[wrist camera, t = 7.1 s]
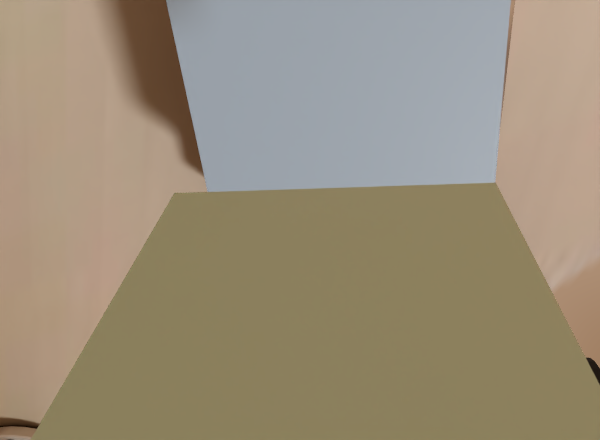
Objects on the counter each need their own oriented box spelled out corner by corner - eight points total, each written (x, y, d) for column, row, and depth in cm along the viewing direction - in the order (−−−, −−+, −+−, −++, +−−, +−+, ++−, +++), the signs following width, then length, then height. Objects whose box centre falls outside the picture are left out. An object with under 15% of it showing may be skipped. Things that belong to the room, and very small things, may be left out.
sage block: (467, 407, 13) (547, 749, 8) (221, 404, 13) (143, 719, 8) (495, 182, 10) (659, 500, 5) (174, 193, 10) (4, 483, 5)
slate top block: (471, 198, 27) (489, 242, 23) (236, 211, 28) (221, 255, 25) (488, -75, 21) (516, -69, 17) (188, -40, 22) (159, -29, 19)
